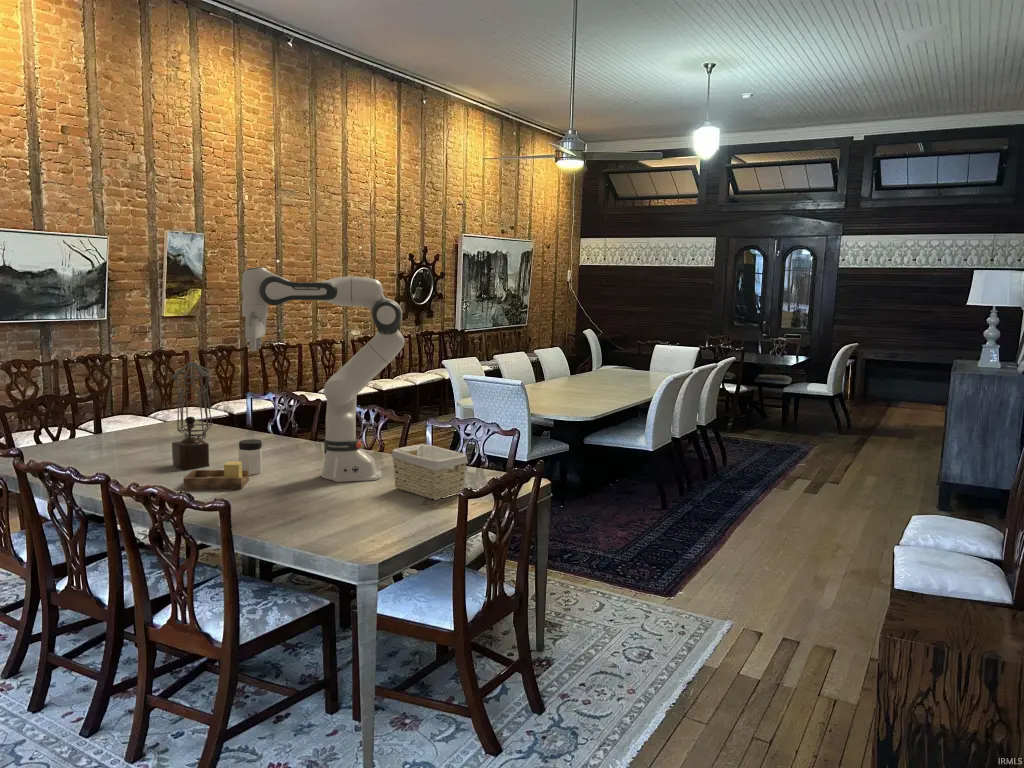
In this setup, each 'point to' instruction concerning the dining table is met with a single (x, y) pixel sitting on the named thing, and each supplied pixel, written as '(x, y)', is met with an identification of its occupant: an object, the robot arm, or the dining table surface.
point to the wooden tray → (214, 480)
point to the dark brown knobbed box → (190, 450)
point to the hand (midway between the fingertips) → (255, 350)
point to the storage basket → (429, 470)
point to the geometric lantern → (204, 373)
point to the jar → (251, 455)
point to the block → (233, 469)
